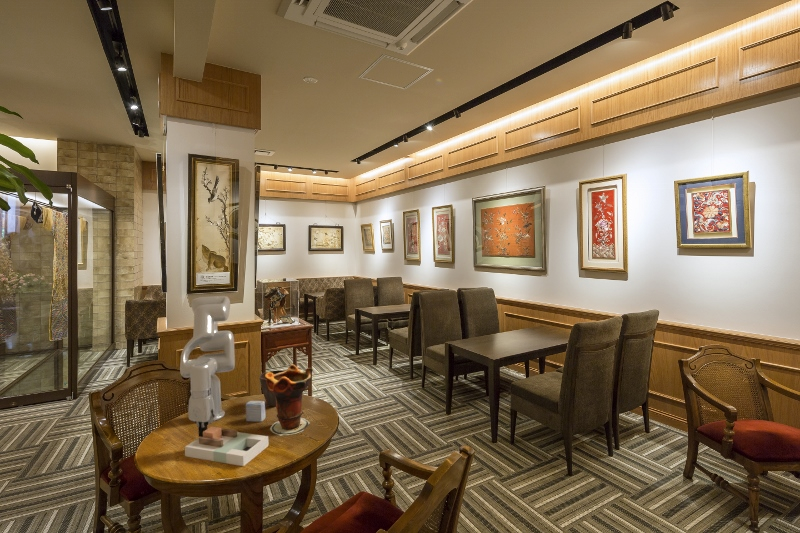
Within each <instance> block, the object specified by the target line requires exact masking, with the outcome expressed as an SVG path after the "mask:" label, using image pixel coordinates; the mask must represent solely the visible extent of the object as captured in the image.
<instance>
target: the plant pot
mask: <svg viewBox="0 0 800 533" xmlns="http://www.w3.org/2000/svg"><path fill="white" fill-rule="evenodd" d="M284 371H285V370H280V369H279V370H269V371H266V372H263V373H261V374H260V375H259V383H260V386H261V387H260V388H261V391H262V393H263V396H264V399H265V403H266V405H267V406H268V407H275V408H276V399H275V394H274V393H272V392H271V391H270V390H269V388H268V386H267V379H266V378H265V374H266V373H268V372H271V373H273V374H277V373H281V372H284Z"/></svg>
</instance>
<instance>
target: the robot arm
mask: <svg viewBox="0 0 800 533" xmlns="http://www.w3.org/2000/svg"><path fill="white" fill-rule="evenodd" d="M190 303H191V304H190V305H191V309H192V312H193V332H192V333H193V336H192V337H191V339H190V340H188V342H187V343H186V344H185V345H184V347H183V349H182V352H181V354H180V363H179V364H180V366H179V371H180V372H179V373H180V376H182V378H186V379H187V378H189V379H190V391H189V392H190V394H191V395H190V397H189V400H188V408H187V409H188V412H187V413H188V414H187V415H188V416H187V417H188V420H190V421H191V422H194V423H195V425H196V427H197V429H198V430H197V431H198V438H200V437H203V431H205V430H207V429H208V426H209V425H211V424H212V423H215V422H216V421H218V420H221V419H222V418H223V417H224V416H225V414H226V411H224V410H223V409H222V399H221V398H222V396H221V381H220V378H219V377H218V375H216V374H217V373H218V374H219V373H226V372H231V371H233V370H234V369H235V364H236V358H235V357H236V355H235V337H234V334H233V332H232V331H231V330H218V327H219V326H218V322H225V321H227V320H228V318H229V316H230V310H231V299H230V297H228V296H227V295H217V296H215V295H214V296H199V297H196V298H193V299H191V302H190ZM198 347H199V349H200V351H203V352H214V353H205V354H203V355H202V354H201V355H199V356H198V357H197V358H194V359H189V358H190V354H191V353H192V352H193V350H195V349H196V348H198ZM215 351H224V352H217V353H215Z"/></svg>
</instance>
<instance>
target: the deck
mask: <svg viewBox="0 0 800 533" xmlns="http://www.w3.org/2000/svg"><path fill="white" fill-rule="evenodd" d="M199 438H200V437H198V438H196V439H194V440H193V441H192V442H190V443H188V444H187V445H185V446H184V456H185V457H187V458H193V459H199V460H204V461H206V460H207V461H212V462H217V463H223V464H228V465H234V466H239V467H241V466H242V467H244V466H246V465H247V464H248V463H249V462H251V461H252V460H253V459H254V458H256V457H257V456H258V455H259V454H260V453H262V452H263V451H264V450H265V449H266V448H267V447H268V446H269V444H270V443H269V435H261V434H253V433H247V432H239V431H237V437H236V438H234V437H227V436H222V437H221V438H220V440H223V447H216V446H209V445H203V444H199Z"/></svg>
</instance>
